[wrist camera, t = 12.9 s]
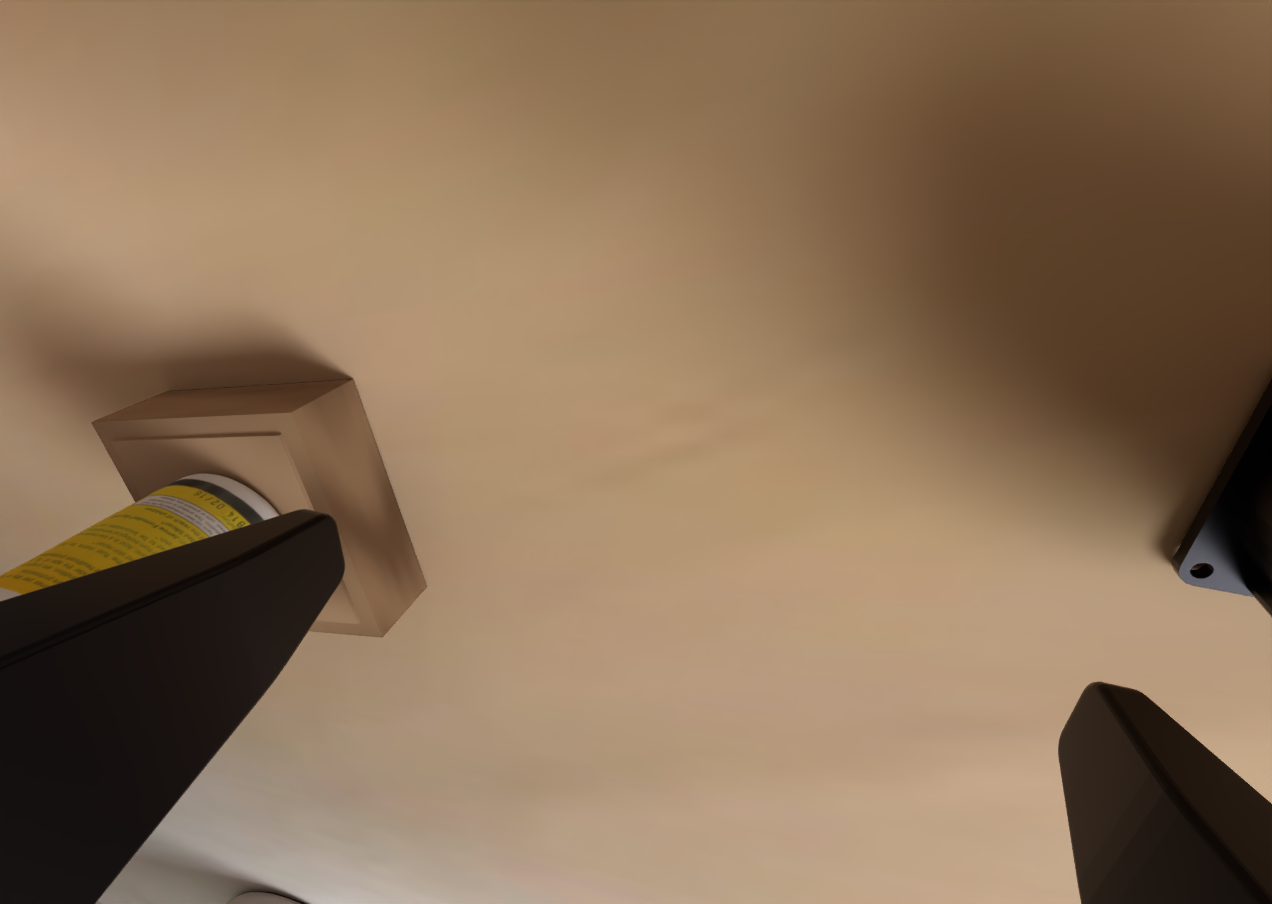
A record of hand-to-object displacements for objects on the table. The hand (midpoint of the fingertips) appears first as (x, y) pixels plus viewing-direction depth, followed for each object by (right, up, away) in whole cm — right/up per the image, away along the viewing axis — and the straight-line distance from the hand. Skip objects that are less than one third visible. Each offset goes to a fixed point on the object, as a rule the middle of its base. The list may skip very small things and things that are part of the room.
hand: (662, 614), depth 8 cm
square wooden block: (-14, 0, +18) cm, 23 cm away
